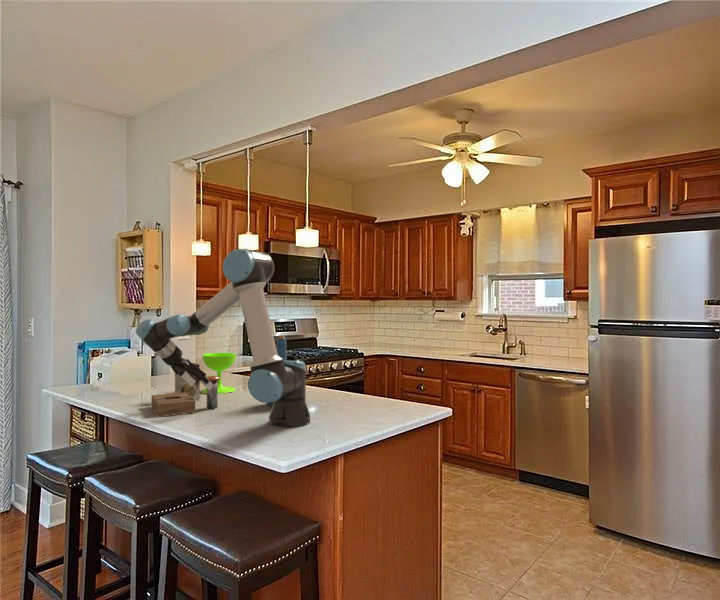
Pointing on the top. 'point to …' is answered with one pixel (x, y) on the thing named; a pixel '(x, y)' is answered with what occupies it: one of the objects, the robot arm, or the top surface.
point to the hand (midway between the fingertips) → (202, 385)
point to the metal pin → (213, 393)
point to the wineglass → (219, 367)
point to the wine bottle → (280, 354)
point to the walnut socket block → (173, 404)
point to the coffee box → (183, 386)
